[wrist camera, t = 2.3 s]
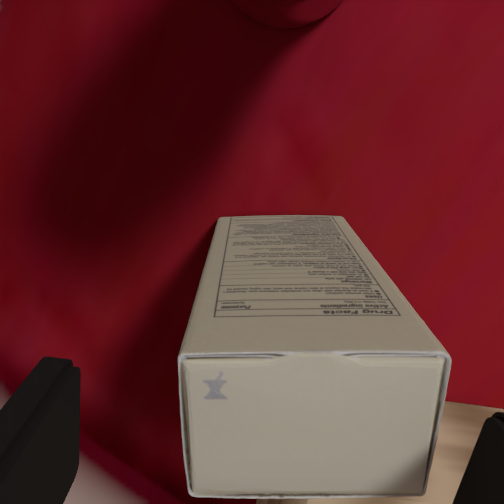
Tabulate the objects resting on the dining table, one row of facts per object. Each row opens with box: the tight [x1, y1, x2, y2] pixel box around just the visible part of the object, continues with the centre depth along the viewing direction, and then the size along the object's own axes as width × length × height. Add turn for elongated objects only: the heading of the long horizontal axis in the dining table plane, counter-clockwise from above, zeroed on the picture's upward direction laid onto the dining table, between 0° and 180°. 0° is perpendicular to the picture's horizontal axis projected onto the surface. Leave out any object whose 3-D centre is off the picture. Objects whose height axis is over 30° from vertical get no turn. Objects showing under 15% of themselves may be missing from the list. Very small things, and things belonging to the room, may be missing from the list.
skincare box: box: [178, 215, 452, 499], centre depth 16 cm, size 6×4×12 cm
